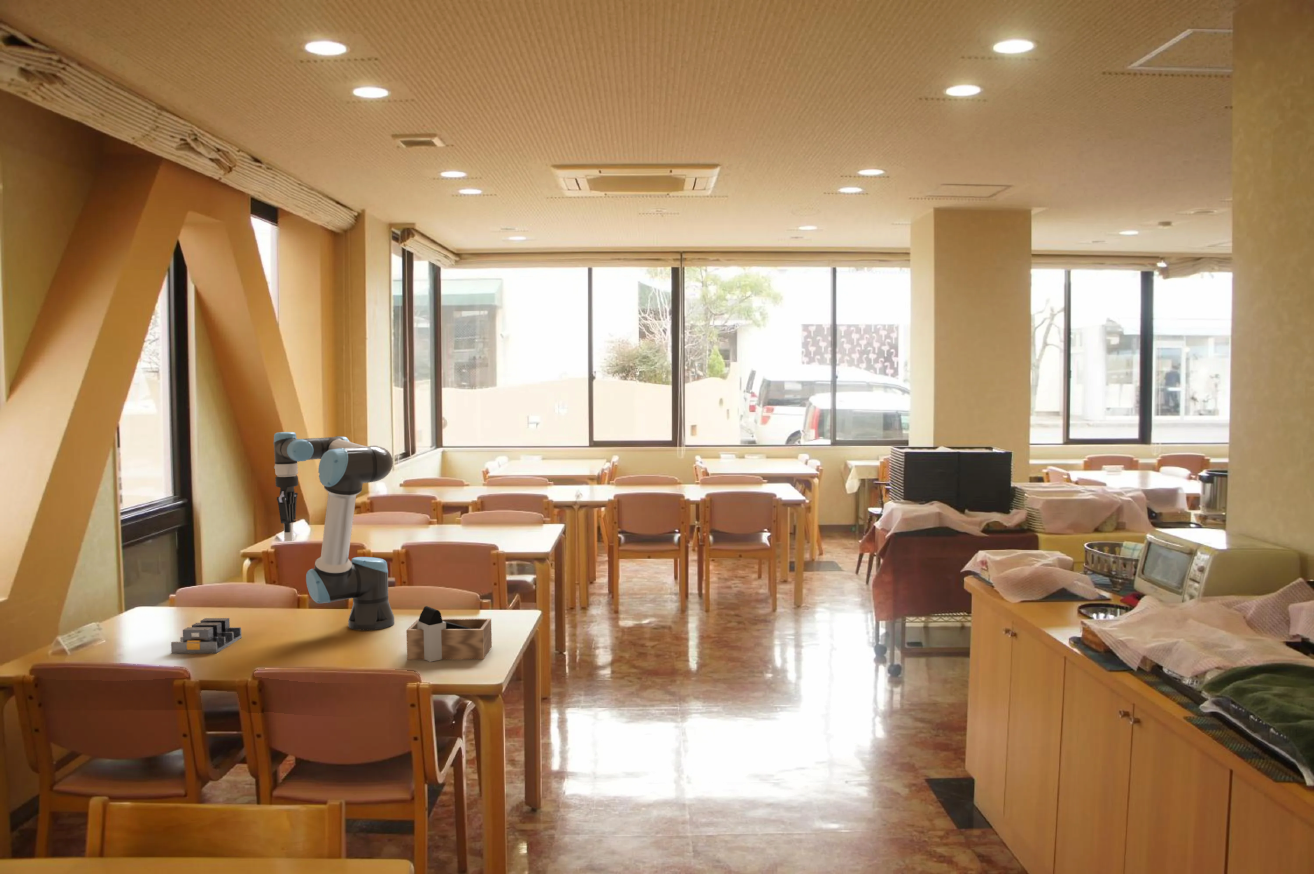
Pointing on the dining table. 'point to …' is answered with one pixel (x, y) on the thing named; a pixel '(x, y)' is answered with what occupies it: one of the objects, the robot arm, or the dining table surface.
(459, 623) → the open wooden box
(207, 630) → the gray labeled box
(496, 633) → the dining table surface
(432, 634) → the decorative object
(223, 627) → the rack
